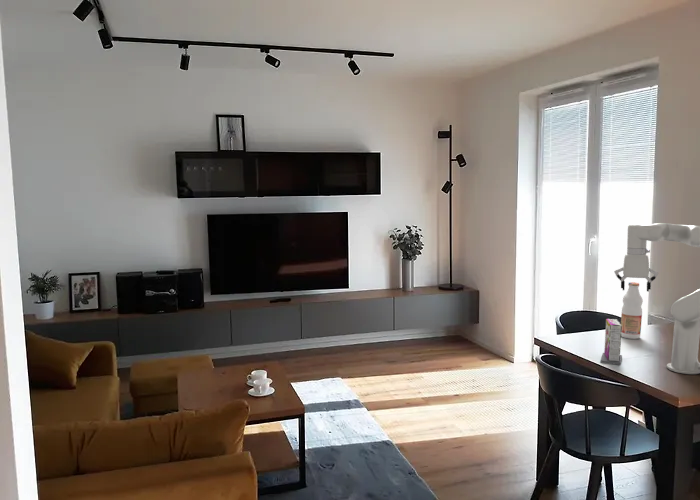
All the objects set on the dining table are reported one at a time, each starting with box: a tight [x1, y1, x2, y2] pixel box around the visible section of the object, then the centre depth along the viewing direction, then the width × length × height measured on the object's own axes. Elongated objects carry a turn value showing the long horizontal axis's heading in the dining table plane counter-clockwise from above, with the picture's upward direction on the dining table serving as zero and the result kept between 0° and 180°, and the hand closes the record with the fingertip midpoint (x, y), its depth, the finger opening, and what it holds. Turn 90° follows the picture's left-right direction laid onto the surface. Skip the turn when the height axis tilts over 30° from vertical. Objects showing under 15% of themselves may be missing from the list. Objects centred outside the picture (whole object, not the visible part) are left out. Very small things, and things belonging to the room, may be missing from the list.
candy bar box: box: [603, 318, 622, 361], centre depth 258 cm, size 11×5×16 cm, turn 165°
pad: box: [600, 352, 623, 366], centre depth 259 cm, size 8×13×1 cm, turn 153°
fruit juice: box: [620, 281, 644, 340], centre depth 297 cm, size 9×9×28 cm
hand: (635, 290), depth 257 cm, fingers open, 9 cm apart
